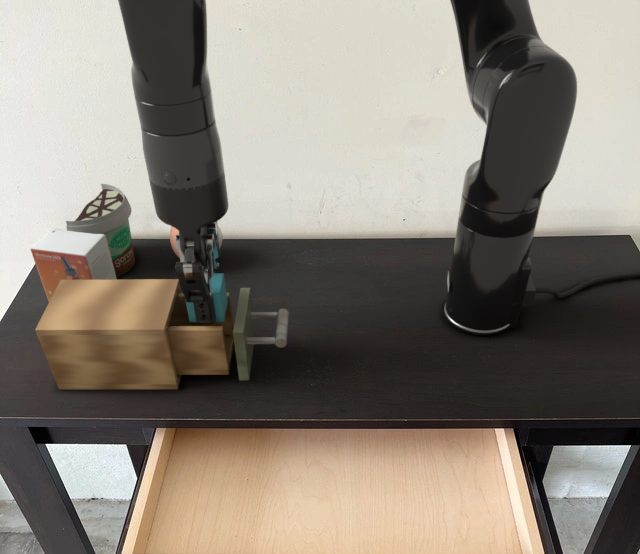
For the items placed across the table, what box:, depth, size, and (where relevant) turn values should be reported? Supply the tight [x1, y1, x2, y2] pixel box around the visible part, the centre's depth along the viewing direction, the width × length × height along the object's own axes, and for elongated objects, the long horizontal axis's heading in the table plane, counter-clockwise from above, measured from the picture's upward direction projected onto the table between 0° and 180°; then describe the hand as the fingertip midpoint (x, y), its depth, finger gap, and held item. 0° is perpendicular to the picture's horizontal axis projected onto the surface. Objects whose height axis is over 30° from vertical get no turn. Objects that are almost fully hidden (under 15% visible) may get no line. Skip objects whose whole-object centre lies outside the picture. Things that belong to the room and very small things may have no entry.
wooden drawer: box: [167, 287, 290, 381], centre depth 80 cm, size 18×9×7 cm, turn 89°
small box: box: [30, 227, 118, 303], centre depth 88 cm, size 8×6×10 cm
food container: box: [65, 183, 136, 278], centre depth 96 cm, size 12×6×10 cm, turn 168°
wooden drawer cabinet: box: [35, 278, 183, 390], centre depth 80 cm, size 15×10×9 cm
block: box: [186, 272, 228, 322], centre depth 76 cm, size 4×4×4 cm
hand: (209, 309), depth 78 cm, fingers closed on block, 4 cm apart
